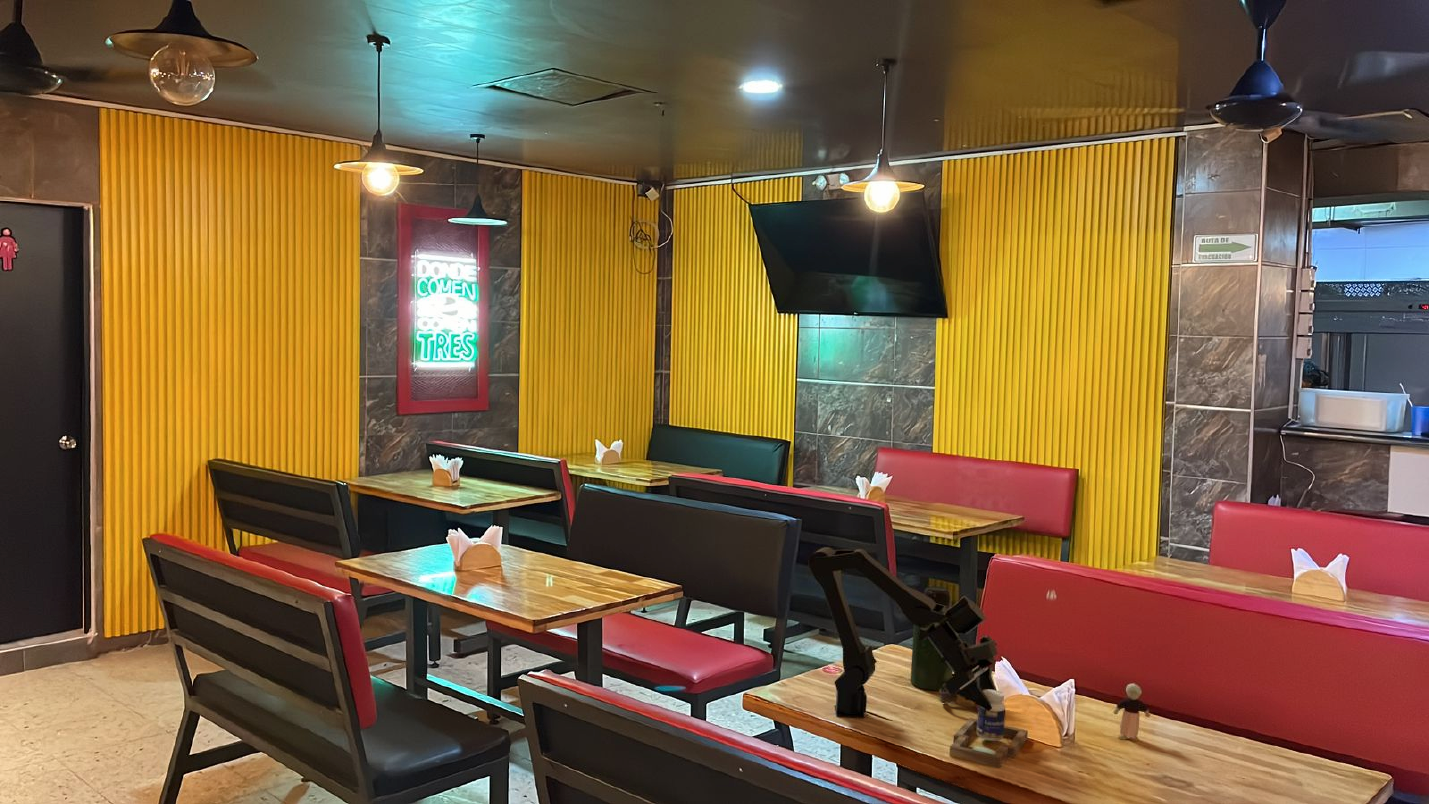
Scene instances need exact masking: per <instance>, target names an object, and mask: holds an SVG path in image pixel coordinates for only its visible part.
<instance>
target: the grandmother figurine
mask: <svg viewBox="0 0 1429 804" xmlns="http://www.w3.org/2000/svg"><path fill="white" fill-rule="evenodd" d="M1125 690H1126V694H1127V697H1124V698H1123V699H1121V700H1120V701H1119V702H1118V703H1117V704H1116V707H1115V708H1114V710H1113V712H1112V713H1113V714H1114V715H1118V714H1119V712H1120V711H1121V710H1122V709H1123V712H1122V716H1121V720H1120V721H1121V722H1120V727H1119V734H1118V735H1117V739H1120V740H1127V739H1129V740H1130V741H1133V742H1139V741H1138V740H1139V737H1138V735H1139V729H1140V728H1139V727H1140V711H1141V712H1143V714H1144V716H1145V718H1150V717H1151V714H1150V711H1149V707H1148V705H1147V704H1146V703H1144V702H1143V701H1142V700H1140V699H1138V698H1139V697H1140V696H1141V695H1142V693H1143V692H1142V691H1143V690H1142V689H1141V687H1140V686H1139V685H1138V684H1136V683H1129V684H1127V686H1126V688H1125Z"/></svg>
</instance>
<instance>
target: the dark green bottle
mask: <svg viewBox="0 0 1429 804" xmlns="http://www.w3.org/2000/svg"><path fill="white" fill-rule="evenodd" d="M923 594H924V595H926V596H928V597H929V598H931V599H932V600H933V601H934V602H935V603H937V604H940V605H944V606H947V607H950V603H951V602H950V601H951V596H950V591H949V590H948V589H947V588H945V587H942V586H938V585H937V586H934V585H933V586H932V585H930V586H927V587H926V588H925V589H924V591H923ZM946 619H947V618H946V617H945V618H944V619H943V620H942V621H940V622H939V624H941V623H942V622H943V621H945V620H946ZM948 623H949V622H948ZM932 624H933V623H929V624H928V625H926V626H922V627H918V626H915V625H914V624H913V633H912V634H913V635H912V651H911V665H910V683H911V684H912V685H913V686H914V687H917V688H920V689H922V690H928V691H939V690H940V689H941V688H942V689H943V690H944V688H943V685H944V684H945V682H946V681H947V680H949V679H950V678H951V677H953V676H952V674H954V672H953V671H952V670H951V668H950V667H949V666H948V664H947V663H946V661H945V662H944V663H942V662H941V660H940V659H941V658H943V657H942V656H941V655H940V653H939V652H938V651H937V649H936V648H935V647H934V645H933V644H932V643H931V641H930V640H929V639H928V637H927V638H926V639H924V640H922V641H918V638H919V629H921V628H925V629H926V628H928V627H929V626H930V625H932ZM949 625H950V624H949ZM950 626H951V625H950ZM952 629H953V628H952ZM953 630H954V629H953ZM941 653H942V652H941Z"/></svg>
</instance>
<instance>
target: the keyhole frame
mask: <svg viewBox="0 0 1429 804" xmlns="http://www.w3.org/2000/svg"><path fill="white" fill-rule="evenodd" d="M977 721H978V718H972V717H970V718H968V720H966V721H965V723H964V724H963V725H962V726H961V727H960V728H959V729H958V730H957V731H956V732H955V733H954V734H953V741H952V744H951V745H950V747H949V757H951V756H952V757H953V758H956V759H961V760H963V761H967V762H968V761H969V762H972V763H975V764H976V763H977V764H981V765H985V766H989V767H994V768H998V769H999V768H1000V767H1001V766H1002V765H1003V763H1004V762H1005V761H1006V759H1007V758H1009V759H1010V758H1011V759H1014V758H1015V756H1016V755H1017V754H1018V752H1019V751H1020V750H1021V748H1022V747H1023V746H1024V744H1025V743H1026V742H1027V740H1028V730H1027V729H1023V728H1018V727H1015V726H1014V727H1013V726H1008V725H1006V724H1004V732H1003V738H1004V737H1006V738H1009V739H1012V740H1011V741H1010V742H1009V744H1004V743H1002V744H1001V745H1000V746H999V748H998V749H997V750H996V751H994V750H992V749H990V748H986V747H983V746H968V744H969V743H968V742H969V736H971V734H972V733H973V732H974V731H977ZM1003 761H1004V762H1003ZM1001 764H1002V765H1001Z"/></svg>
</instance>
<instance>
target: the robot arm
mask: <svg viewBox="0 0 1429 804" xmlns="http://www.w3.org/2000/svg"><path fill="white" fill-rule="evenodd" d="M807 564H808V565H807V566H808V568H809V572H810V573H811V575H812V576H813V578H814V580H815V582H816V583H817V584H818V585H819V587H820V588H821V589H822V591H823V594H824V596H825V599H826V602H827V605H828V608H829V612H830V614H831V616H832V620H833V623H834V627H835V629H836V632H837V634H838V635H837V636H838V638H839V641H840V644H841V648H842V665H843V672H842V673H841V674H840V675H839V676H838V677H837V679H836V680H834V687H835V690H836V692H835V694H836V696H835V705H834V710H835V715H836V717H841V718H842V717H845V718H863V719H864V718H865V714H866V713H867V702H868V701H867V700H868V698H867V697H868V696H867V693H866V692H865V691H866V689H865V686H864V685H865V684H866V683H867V682H868V681H869V680H870V679H871V678H872V677H873V675H874V673H875V671H876V664H877V662H878V661H877V659H876V658H875V656H874V653H873V648H872V646H871V645H869V646H867V647H866V646H865V644H863V642H862V641H861V639H860V635H859V633H858V630H857V627H856V623H855V622H854V619H853V615H852V612H851V608H850V606H849V602H848V601H847V597H846V594H845V591H844V588H843V586H842V571H843V570H851V569H852V570H853V569H855V570H857V571H858V572H859V573H860V574H862V575H863V576H864V577H865V578H867V580H869V581H870V582H872V584H874V585H875V586H876V587H877V588H878V589H880V590H881V591H882V592H883V593H885V595H887V596H888V597H890V599H892V600H893V601H894V603H895V604H896V605H897V606H898V608H899V610H900V611H901V612H902V614H903V615H904V616H905V617H906V619H908V621H909V622H910V623H911V624H912V625H913V626H914V625H915V626H918V627H922V626H926V625H928V624H929V623H933V624H932V625H930V626H929V627H928V628H926V629H925V628H921V629H919V638H918V641H922V640H924V639H926V638H927V637H928V639H929V640H930V641H931V643H932V644H933V645H934V647H935V648H936V649H937V651H938V652H939V653H940V655H941V656H942V657H943V658H941V659H940V660H941V662H942V663H944V662H945V661H946V663H947V664H948V666H949V667H950V668H951V670H952V671H953V674H952V677H951V678H950V679H949V680H947V681H946V682H945V689H946V692H948V694H949V695H951V694H952V693H954V692H955V691H956V690H958V689H960V690H959V691H958V692H957V693H956V694H957V695H958V694H959V695H961V696H963V697H962V698H964V699H965V698H967V699H968V700H967V701H969V700H970V701H969V702H972V703H974V704H975V703H976V704H977V705H979V706H981V707H982V708H984V709H986V710H988V711H989V710H991V709H992V706H991V704H990V703H989V701H988V699H987V697H986V696H985V694H984V692H983V690H986V689H991V690H997V687H996V684H995V683H994V680H993V676H992V674H993V669H994V665H992V664H993V663H995V662H996V659H995V656H997V655H999V653H998V650H997V646H998V643H997V642H996V641H995V640H994V639H992V637H991V636H989V635H985V636H981V638H980V640H979V643H978V642H977V643H976V644H973V645H971V643H969V641H967V640H965V641H962V639H960V636H959V635H961V634H963V635H968V634H969V633H970V632H971V631H973V630H974V629H975V628H977V627H978V626H979V625H981V624H983V622H984V621H986V616H985V614H984V612H983V610H982V609H981V608H980V606H979V605H978V604H976V603H975V602H974V601H973V600H971V599H969V598H968V597H967V595H964V596H962V597H961V598H960V599H959V600H958V601H957V602H956V603H955V604H953V605H952V606H949V607H947V606H944V605H940V604H937V603H935V602H934V601H933V600H932V599H931V598H929V597H928V596H926V595H924V592H921V591H919V590H916V589H914V588H910V586H907V584H905V583H903V582H902V581H901V580H900V579H899V578H898V577H897V576H896V575H894V574H893V573H892V572H890V570H888V569H887V568H885V566H883V565H882V564H880V563H879V562H878V561H877V560H876V559H875V558H873V557H872V556H871V555H870V554H869V552H868V551H866V550H865V549H862V548H858V549H836V550H835V549H833V548H832V547H828V546H826V547H821V548H820V549H818V550H817V551H814V552H813V553H812V554H811V555H810V557H809V559H808V560H807ZM945 617H946V618H947V619H946V620H945V621H943V622H942V623H941V624H939V622H940V621H942V620H943V619H944V618H945ZM948 622H949V623H948ZM949 624H950V625H951V626H950V625H949ZM952 628H953V629H954V630H953V629H952ZM958 634H959V635H958ZM941 652H942V653H941ZM991 665H992V666H991ZM989 666H990V667H989ZM959 695H958V696H959ZM961 696H960V697H961Z"/></svg>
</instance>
